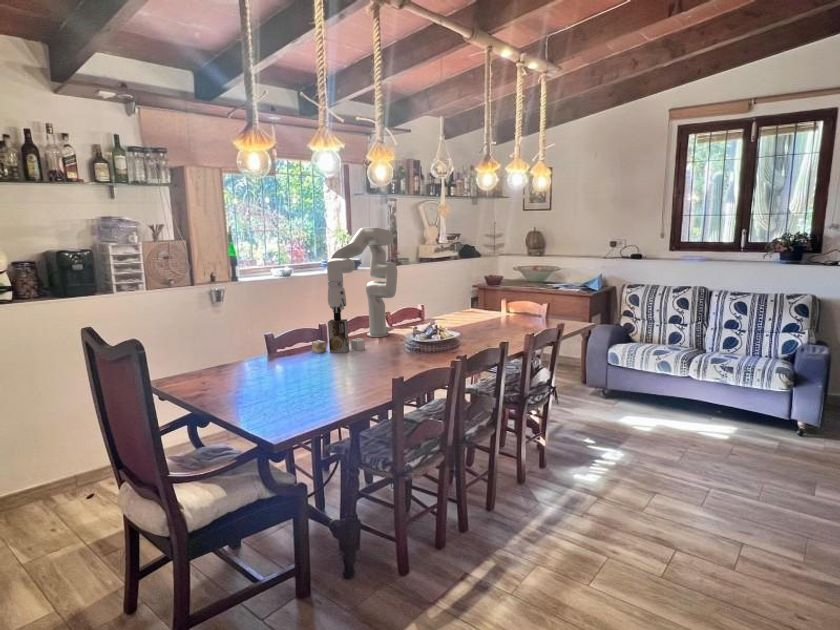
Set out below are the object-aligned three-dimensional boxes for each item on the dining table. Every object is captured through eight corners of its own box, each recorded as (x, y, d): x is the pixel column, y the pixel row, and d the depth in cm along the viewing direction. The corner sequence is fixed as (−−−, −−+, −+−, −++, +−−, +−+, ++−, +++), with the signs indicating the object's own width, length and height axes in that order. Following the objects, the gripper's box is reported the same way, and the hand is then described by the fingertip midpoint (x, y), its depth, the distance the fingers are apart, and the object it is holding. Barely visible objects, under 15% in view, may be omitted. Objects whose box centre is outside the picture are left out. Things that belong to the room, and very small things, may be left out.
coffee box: (349, 349, 278) (348, 319, 275) (346, 352, 272) (344, 321, 269) (332, 349, 279) (330, 319, 276) (329, 352, 273) (327, 321, 270)
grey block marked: (358, 347, 282) (358, 337, 282) (364, 348, 279) (364, 339, 278) (351, 349, 279) (350, 339, 278) (357, 350, 276) (356, 341, 275)
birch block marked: (320, 349, 280) (319, 340, 279) (326, 351, 276) (325, 341, 275) (312, 351, 276) (311, 341, 276) (317, 353, 273) (317, 343, 272)
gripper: (350, 284, 267) (352, 320, 270) (333, 282, 277) (334, 317, 280) (338, 286, 262) (340, 323, 265) (320, 284, 272) (323, 319, 275)
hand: (337, 320), depth 273 cm, fingers closed
